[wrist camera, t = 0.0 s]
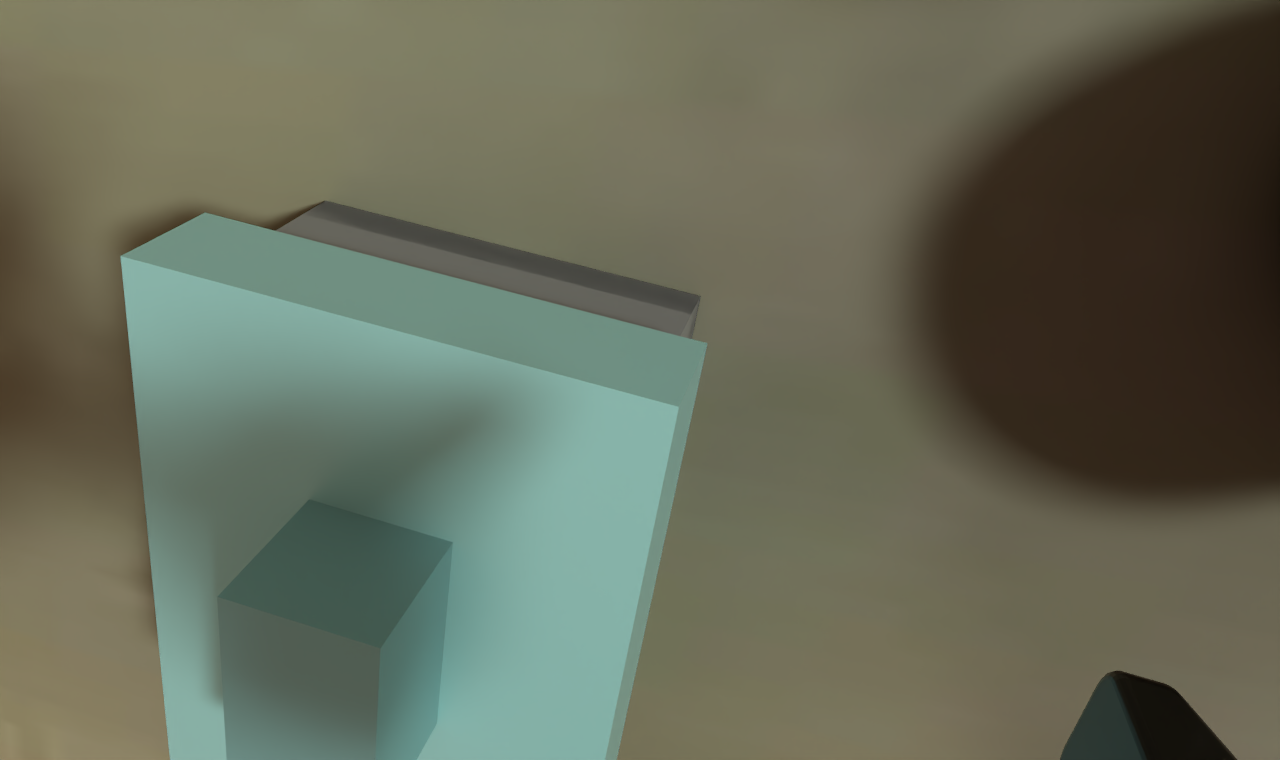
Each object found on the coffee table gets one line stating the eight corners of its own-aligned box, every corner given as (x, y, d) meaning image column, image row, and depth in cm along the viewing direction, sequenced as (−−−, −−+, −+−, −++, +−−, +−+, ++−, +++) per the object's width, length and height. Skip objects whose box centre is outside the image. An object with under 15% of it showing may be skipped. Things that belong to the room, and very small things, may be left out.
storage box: (619, 684, 29) (563, 833, 24) (321, 591, 30) (219, 718, 26) (700, 296, 23) (645, 403, 18) (325, 200, 24) (192, 280, 20)
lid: (605, 811, 26) (531, 1028, 21) (230, 687, 27) (82, 865, 23) (707, 343, 19) (633, 508, 15) (205, 212, 21) (-12, 323, 16)
